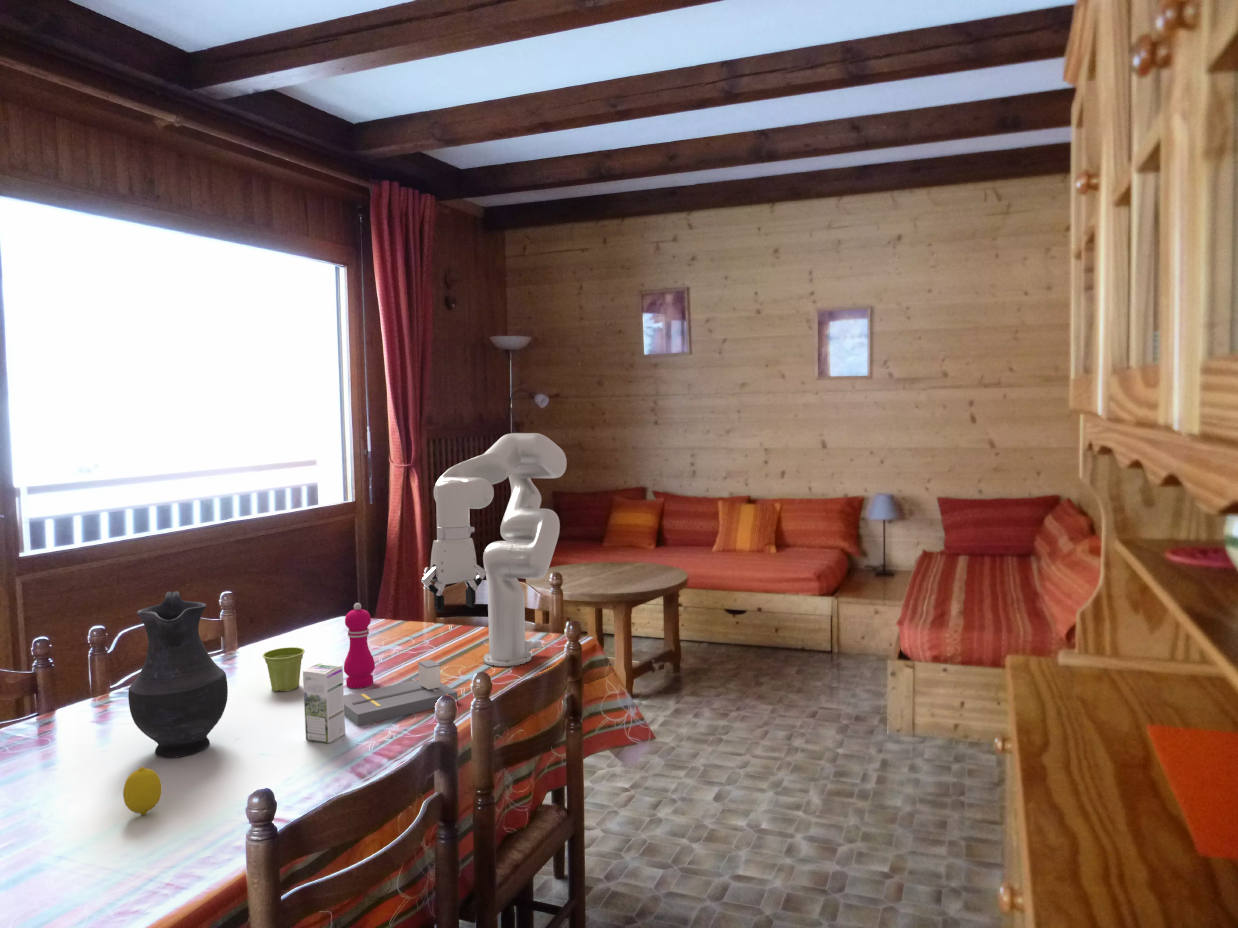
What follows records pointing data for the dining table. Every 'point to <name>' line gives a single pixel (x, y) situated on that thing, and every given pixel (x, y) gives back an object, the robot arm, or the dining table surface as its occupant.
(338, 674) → the syrup box
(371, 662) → the pepper mill
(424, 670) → the block
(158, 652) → the pitcher
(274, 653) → the plant pot
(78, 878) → the dining table surface
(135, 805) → the lemon
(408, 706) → the console
